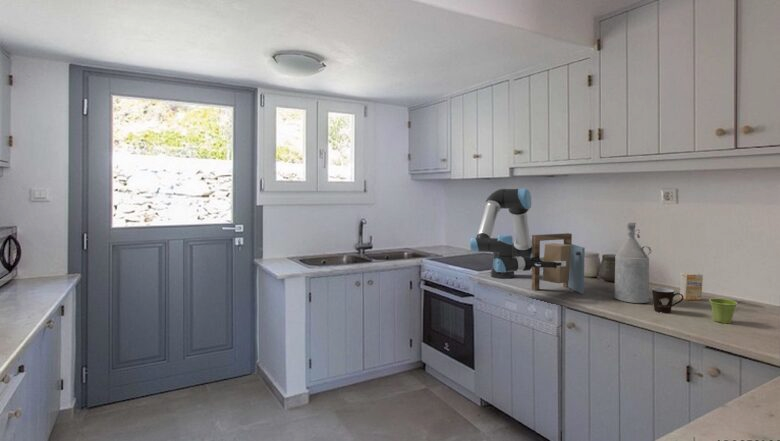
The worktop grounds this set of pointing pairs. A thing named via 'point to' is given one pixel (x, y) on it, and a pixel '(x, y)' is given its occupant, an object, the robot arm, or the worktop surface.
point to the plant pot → (722, 310)
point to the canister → (632, 270)
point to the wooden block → (557, 254)
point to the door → (576, 268)
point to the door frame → (536, 252)
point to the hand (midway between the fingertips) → (558, 261)
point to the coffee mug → (664, 299)
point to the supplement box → (691, 286)
